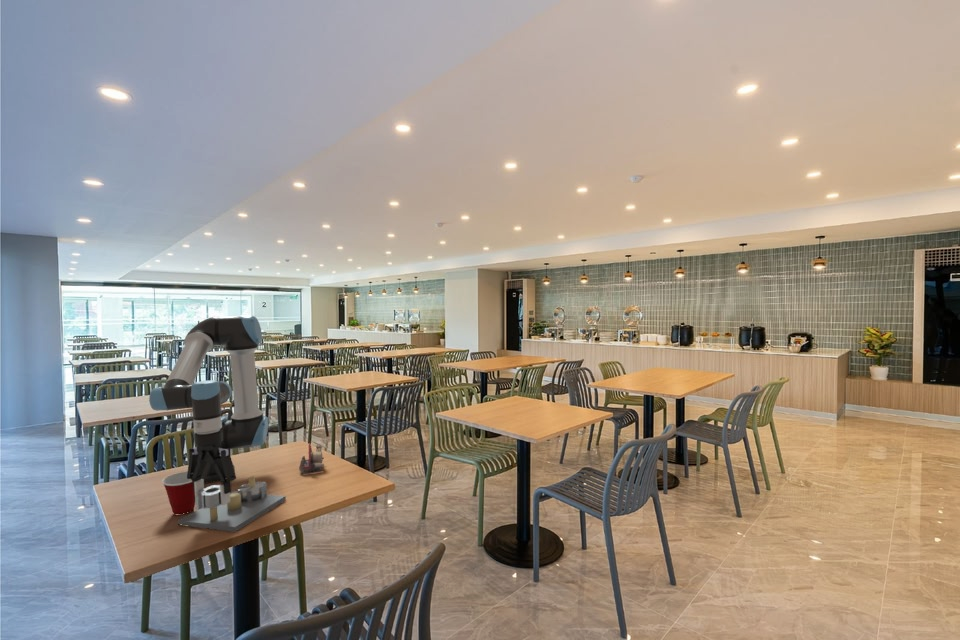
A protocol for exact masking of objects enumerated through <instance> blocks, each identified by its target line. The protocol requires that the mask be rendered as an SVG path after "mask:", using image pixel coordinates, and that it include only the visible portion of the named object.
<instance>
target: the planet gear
mask: <svg viewBox="0 0 960 640" xmlns="http://www.w3.org/2000/svg"><path fill="white" fill-rule="evenodd" d="M195 498H196V502H195V508H196V510H199V509H205V508H206V509H207V508H210V509H212V508H215V507H217V506H220V505H221V493H220V484H214V485H213V484H212V485H210V486H207V487H204V489H202V490H198V491H196V496H195Z"/></svg>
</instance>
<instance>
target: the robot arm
mask: <svg viewBox="0 0 960 640" xmlns="http://www.w3.org/2000/svg"><path fill="white" fill-rule="evenodd" d="M262 341H263V333H262V328H261V324H260V322H259V319H258V318H257V317H256V316H254V315H247V314H245V315H244V314H243V315H241V314H240V315H226V316H225V315H224V316H212V317H208V318H205V319H204V320H202V321H200V322H198V323H197V324H196V325H194V326H193V327H192V328H190V330H189V331H188V332H187V334H186V335H185V337H184V340H183V343H184V347H183V349H182V350H181V352H180V354H179V356H178V358H177V360H176V362H175V365H174V366H173V368H172V370H171V372H170V373H169V376H168V378H167V380H166V382H165V384H164V385H163V386H159V387H154V388H152V389H151V391H150V393H149V397H148V399H149V400H148V401H149V405H150V408H151V409H152V410H153V411H175V410H185V409H192V420H193V440H194V441H193V443H194V447H191V448H189V449H188V454H189V455H188V456H189V458H188V467H187V471H188V472H187V479H191V480H192V481H193V487H194V491H195V496H196V491H198V490H202V489H204V488H205V484H211V483H215V482H220V481H221V483H219V486H220V493H221V505H225V504H227V503H229V502H230V493H232V487H231V486H232V485H231V482H233V481H235V480H236V479H237V476H236V467H235V464H234V462H233V460H232V456H231V450H233V449H234V450H236V449H243V448H253V447H259V446H262V445H263V444H264V443H266V442H265V441H266V439H267V436H268V432H269V418H268V416H265V415H264V412H263V411H262V410H261V409H259V399H258V386H257V385H258V383H257V373H256V369H257V368H256V359H255V357H256V356H255V352H256V350H258V348H259V345H260V344H261V343H262ZM218 346H219V347H220V346H224V348H225V352H227V353H228V354H229V355H230V365H231V377H232V387H231V384H229V383H228V382H225V381H222V380H219V381H218V380H215V379H212V380H211V379H209V380H201V381H196V378H197V376H198V373H199V371H200V369H201V367H202V365H203V363H204V360H205V358H206V355H207V353H209V352H210V351H211V350H212V349H213V347H218ZM232 389H233V390H232ZM232 393H233V402H234V413H233V414H232V415H231V416H230V420H229V419H228V418H227V417H226V416H222V410H221V408H222V405H223V404H225V403H227V402H228V400H229V399H230V398H231V396H232ZM192 473H193V474H192ZM195 503H196V498H195Z"/></svg>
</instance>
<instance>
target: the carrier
mask: <svg viewBox="0 0 960 640" xmlns="http://www.w3.org/2000/svg"><path fill="white" fill-rule="evenodd" d="M255 481H256V477H255V475H254V476H253V475H252V476H249V477H248V483H249V487H254V486H255ZM286 498H287V497H286V495H279V494H278V495H277V494H268V493H267V494H265V498H263V499H259V500H256V501H252V502H251V503H247V502H241V494H240V493H238V491H231V492H230V502H229V503H227V504H225V505H220V506H217V507H215V508H212V509H210V508H207V509H206V508H205V509H196V511H194V512H193V511H192V513H190V514H187V515H186V516H184V517H182V518H180V519H178V520H177V525H178V524H182V525H188V526H187V527H189V526H194V527H193V528H197V527H200V528H199V529H206V528H209V529H208V530H214V529H217V530H216V531H223V532H233V533H236V532H238V531H239V530H241V529H243V528H244V527H246V526H247V525H249V524H250V523H252V522H254V521H255V520H257V519H258V518H259V517H261V516H264V515H265V514H266V513H268V512H269V511H271V510H273V509H274V508H276V507H277V506H279V505H280V504H282V503H284V502H285V501H286V500H287V499H286Z"/></svg>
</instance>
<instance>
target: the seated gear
mask: <svg viewBox="0 0 960 640" xmlns="http://www.w3.org/2000/svg"><path fill="white" fill-rule="evenodd" d="M239 486H240V487H239V488H238V489H237V492H238V493H240V494H241V502H247V503H251V502H252V501H256V500H259V499H263V498H265V494H268V490H267V488H268V487H267V482H266V481H257V480H255V486H254V487H249V482H248V483H245V484H244V483H243V484H241V485H239Z"/></svg>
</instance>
